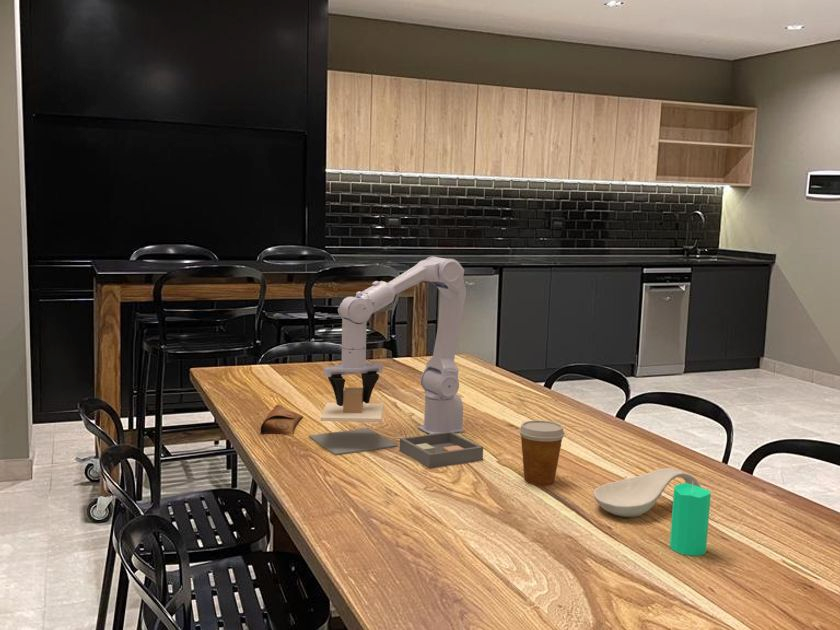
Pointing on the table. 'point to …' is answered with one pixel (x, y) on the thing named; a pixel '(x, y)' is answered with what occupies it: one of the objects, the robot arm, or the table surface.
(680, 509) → the candle
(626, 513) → the spoon rest
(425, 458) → the storage box
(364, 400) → the robot arm
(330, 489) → the table surface
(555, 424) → the disposable coffee cup
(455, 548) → the table surface
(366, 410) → the lid
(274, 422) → the sunglasses case
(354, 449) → the slate mat
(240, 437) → the table surface
